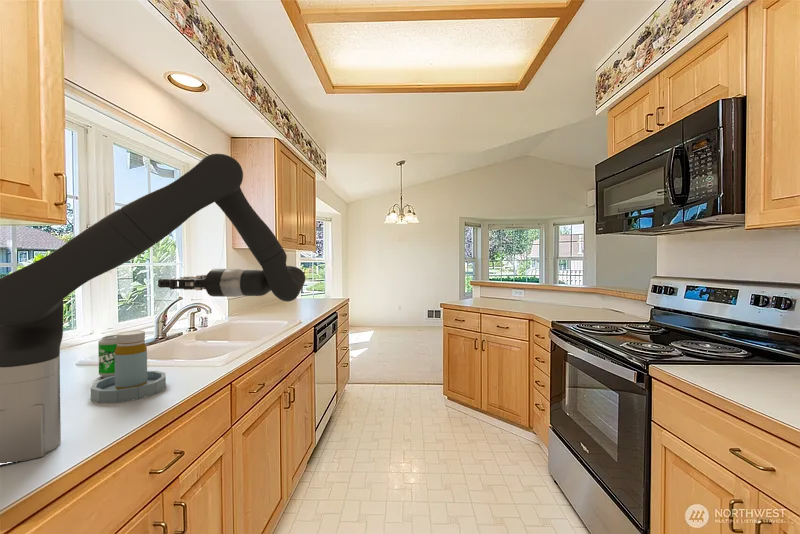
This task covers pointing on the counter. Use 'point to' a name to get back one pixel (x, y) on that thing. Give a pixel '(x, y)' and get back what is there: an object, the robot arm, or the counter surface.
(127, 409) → the counter surface
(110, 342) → the soda can
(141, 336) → the bottle
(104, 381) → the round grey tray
